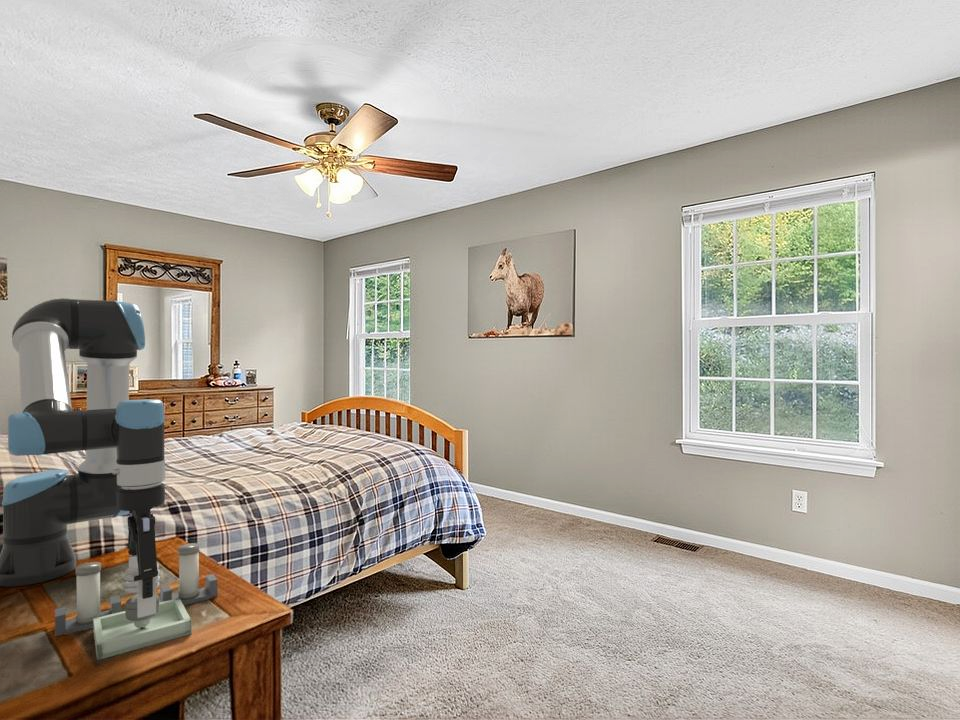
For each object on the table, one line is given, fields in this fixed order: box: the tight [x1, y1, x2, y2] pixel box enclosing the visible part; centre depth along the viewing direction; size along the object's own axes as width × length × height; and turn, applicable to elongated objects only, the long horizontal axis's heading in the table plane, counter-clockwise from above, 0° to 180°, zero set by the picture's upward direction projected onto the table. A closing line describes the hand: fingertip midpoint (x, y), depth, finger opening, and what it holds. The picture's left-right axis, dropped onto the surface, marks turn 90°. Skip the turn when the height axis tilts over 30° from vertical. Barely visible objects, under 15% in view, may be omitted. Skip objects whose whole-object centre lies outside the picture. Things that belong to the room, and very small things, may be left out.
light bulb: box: [123, 562, 161, 629], centre depth 100 cm, size 6×6×12 cm
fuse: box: [75, 561, 102, 625], centre depth 103 cm, size 4×4×10 cm
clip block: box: [54, 573, 218, 637], centre depth 109 cm, size 5×27×4 cm, turn 128°
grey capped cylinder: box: [177, 542, 200, 600], centre depth 114 cm, size 4×4×10 cm
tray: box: [92, 598, 192, 661], centre depth 100 cm, size 12×14×2 cm
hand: (141, 601), depth 100 cm, fingers open, 13 cm apart
